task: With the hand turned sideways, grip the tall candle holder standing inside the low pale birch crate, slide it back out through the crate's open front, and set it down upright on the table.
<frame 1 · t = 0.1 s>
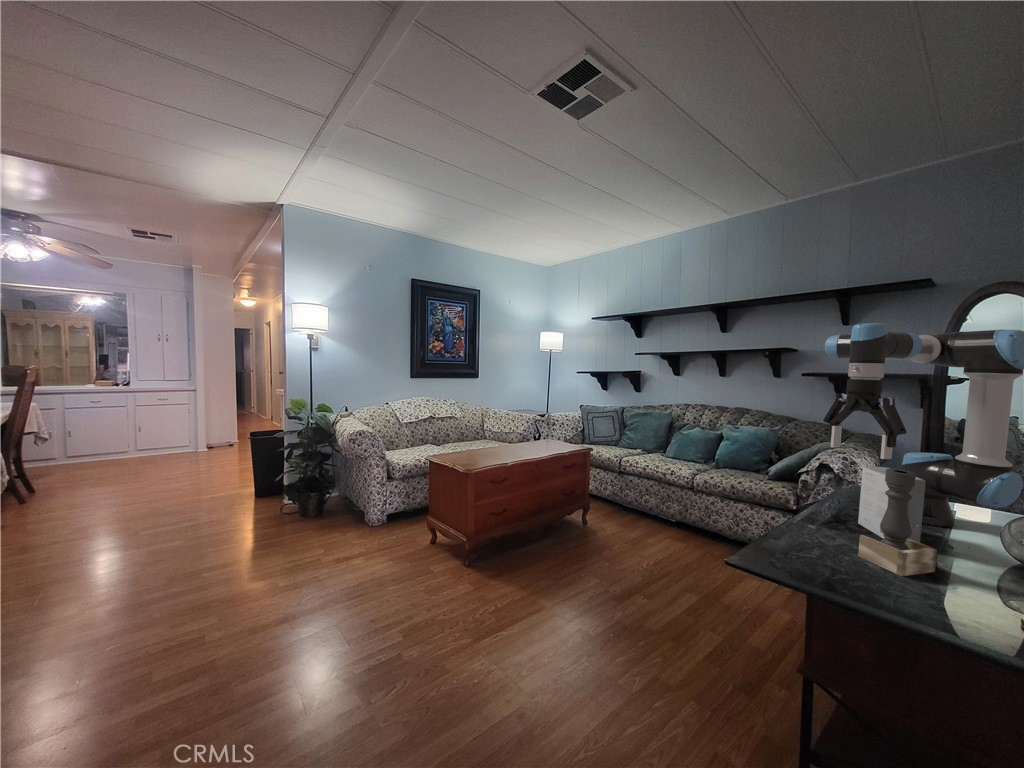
hand: (859, 452, 112), 28 cm above the table, tool pointing down, fingers open, 13 cm apart
birch crate: (892, 562, 106), on the table
candle holder: (892, 563, 106), resting in birch crate
hard drive box: (886, 534, 123), on the table
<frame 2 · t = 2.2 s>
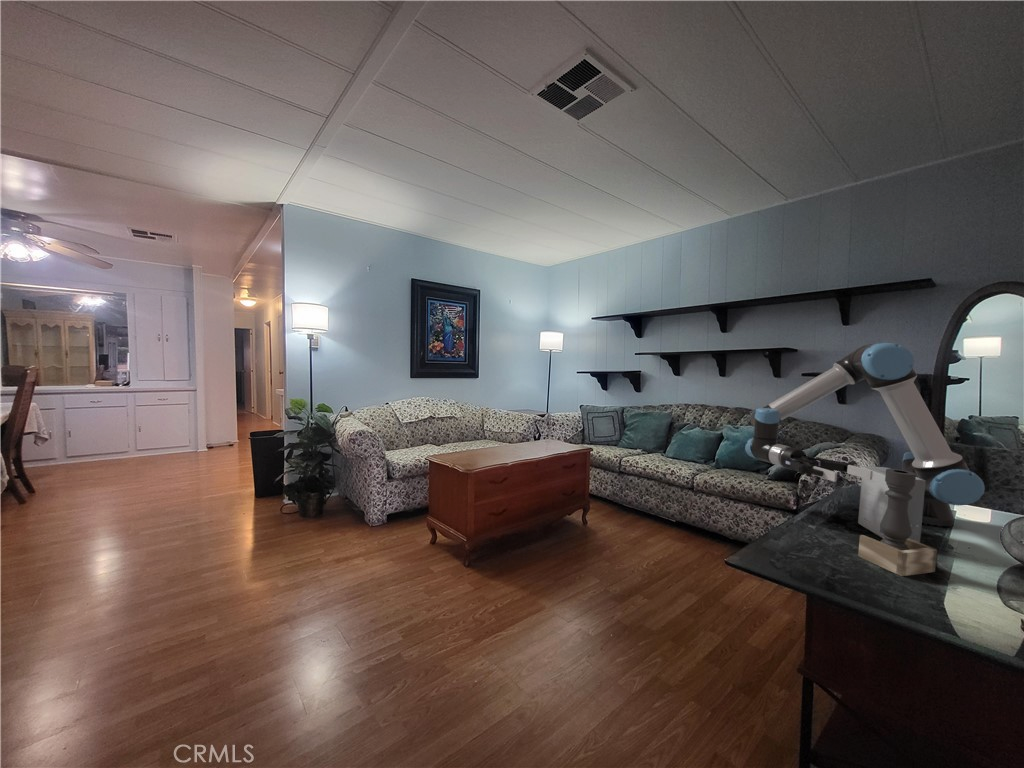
hand: (854, 476, 115), 20 cm above the table, tool horizontal, fingers open, 13 cm apart
nothing on the table moved.
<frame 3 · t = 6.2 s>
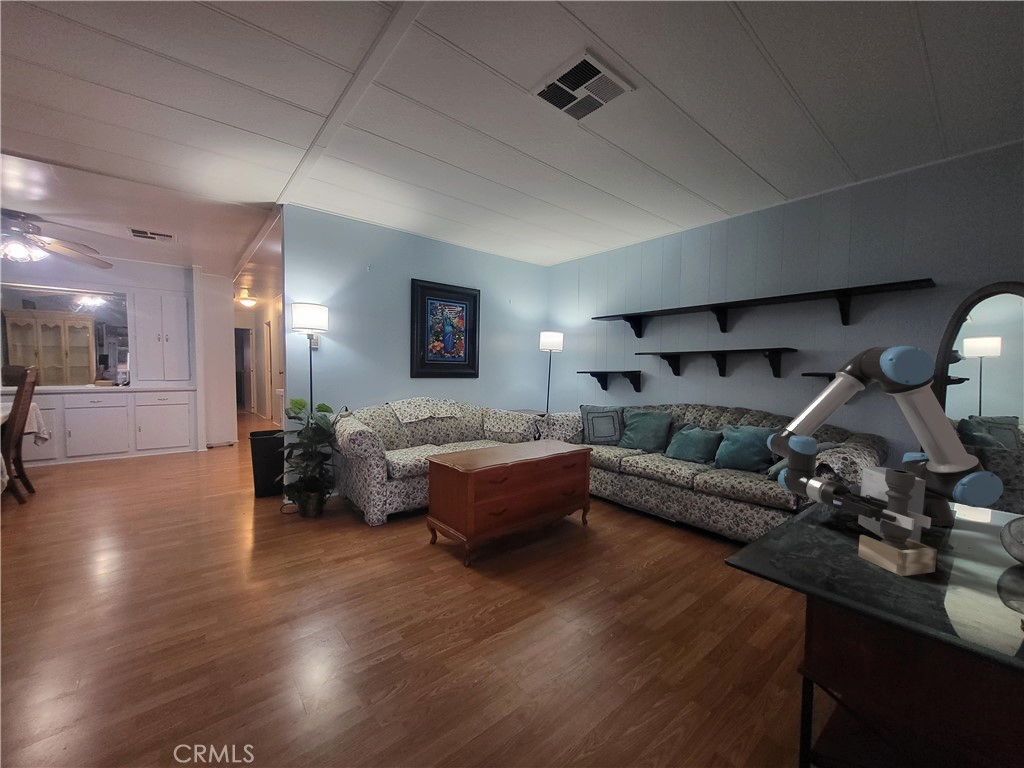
hand: (920, 523, 100), 13 cm above the table, tool horizontal, fingers closed on candle holder, 5 cm apart
candle holder: (892, 563, 106), resting in birch crate, touching gripper
everything else where it was.
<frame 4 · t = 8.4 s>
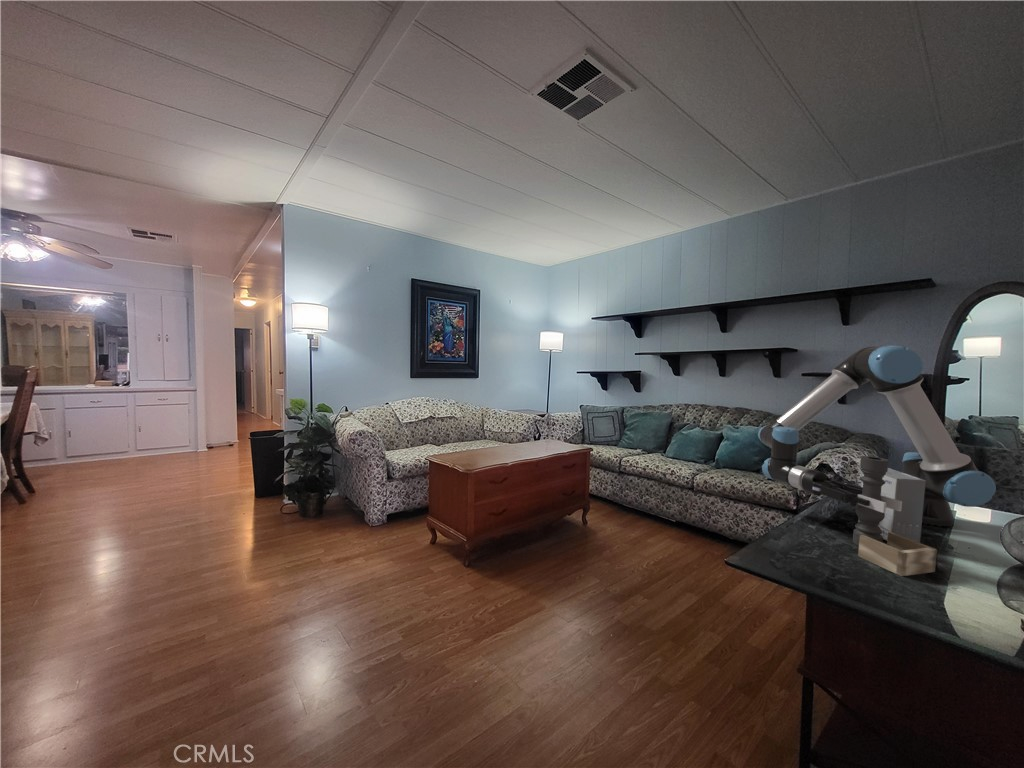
hand: (892, 507, 105), 15 cm above the table, tool horizontal, fingers closed on candle holder, 5 cm apart
candle holder: (866, 545, 111), point 2 cm above the table, touching gripper
everything else where it was.
when the fingers open (14 cm above the table, at t = 10.4 s): candle holder stays where it is, on the table.
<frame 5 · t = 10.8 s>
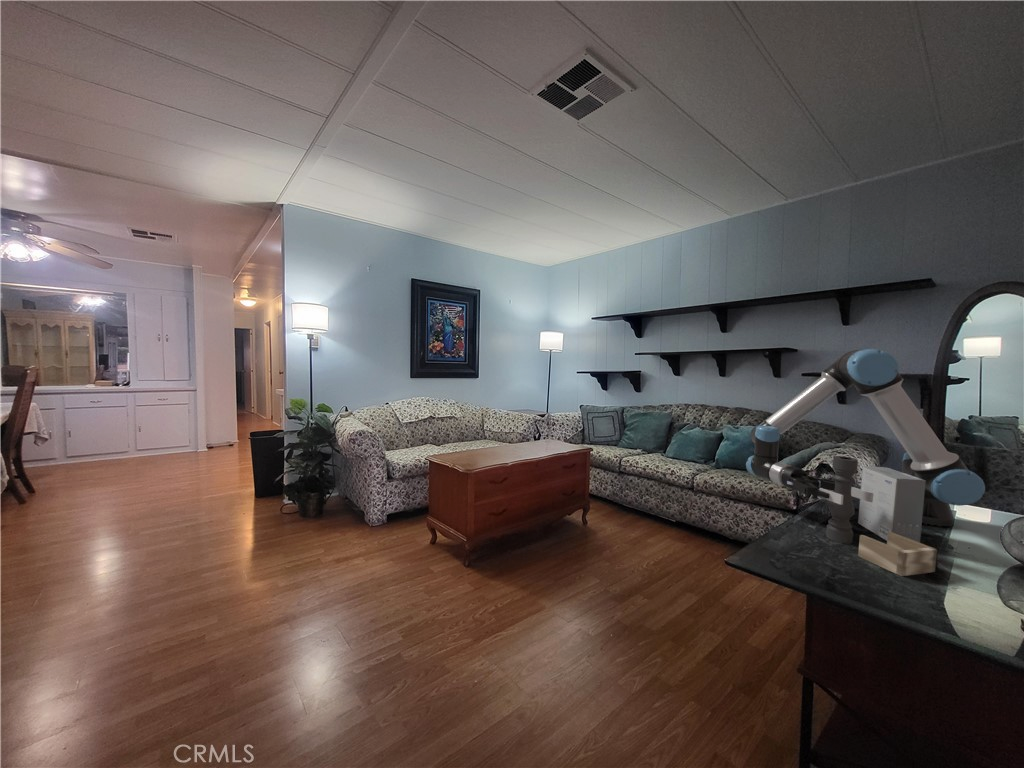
hand: (857, 498, 114), 14 cm above the table, tool horizontal, fingers open, 10 cm apart
candle holder: (838, 539, 119), on the table
everything else where it was.
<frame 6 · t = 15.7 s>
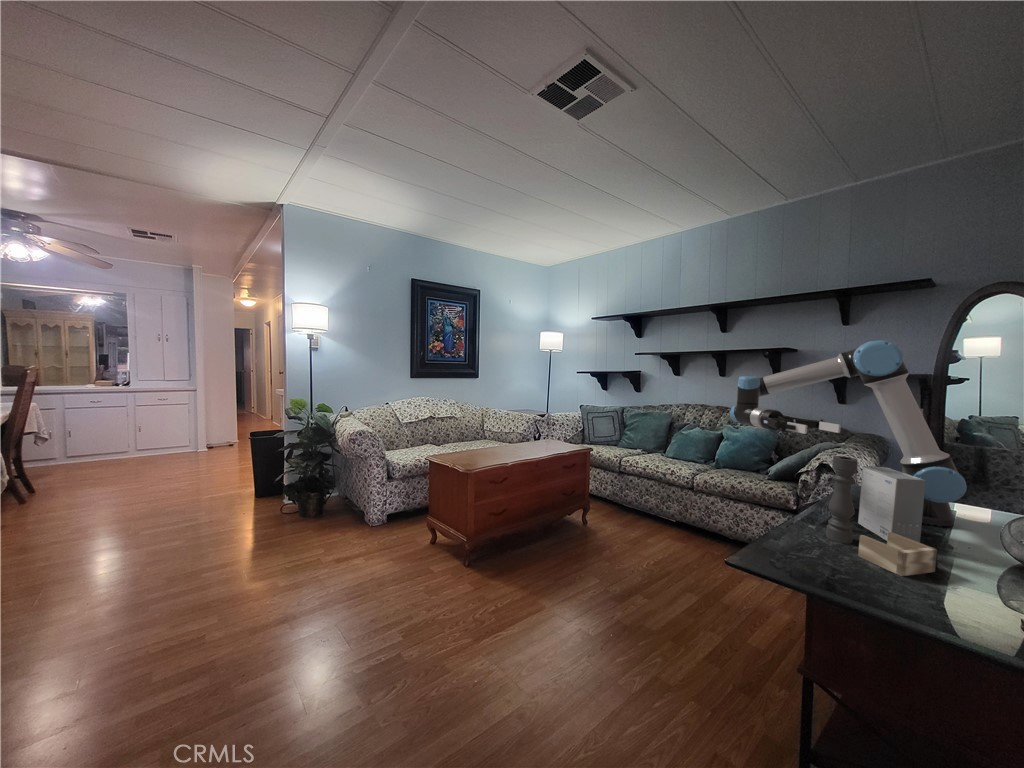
hand: (823, 429, 127), 32 cm above the table, tool horizontal, fingers open, 13 cm apart
nothing on the table moved.
at the end: candle holder inside the target area (0.0 cm from its centre), on the table; candle holder tilted 0°; the gripper is holding nothing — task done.
